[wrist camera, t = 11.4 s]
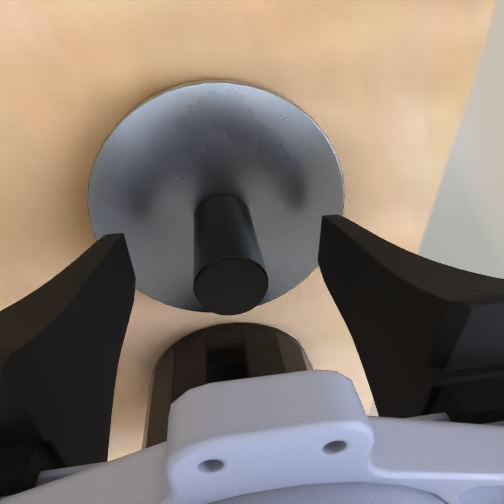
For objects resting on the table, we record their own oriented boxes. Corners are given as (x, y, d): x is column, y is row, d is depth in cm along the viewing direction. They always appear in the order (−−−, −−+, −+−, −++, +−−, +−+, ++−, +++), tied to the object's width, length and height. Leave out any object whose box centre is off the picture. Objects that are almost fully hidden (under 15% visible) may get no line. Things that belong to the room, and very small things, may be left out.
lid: (83, 279, 17) (42, 378, 12) (109, 31, 12) (52, 41, 7) (286, 311, 20) (313, 401, 15) (378, 126, 15) (463, 177, 10)
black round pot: (139, 419, 24) (123, 535, 18) (169, 311, 19) (159, 427, 13) (276, 427, 26) (297, 529, 21) (334, 334, 21) (379, 438, 16)
